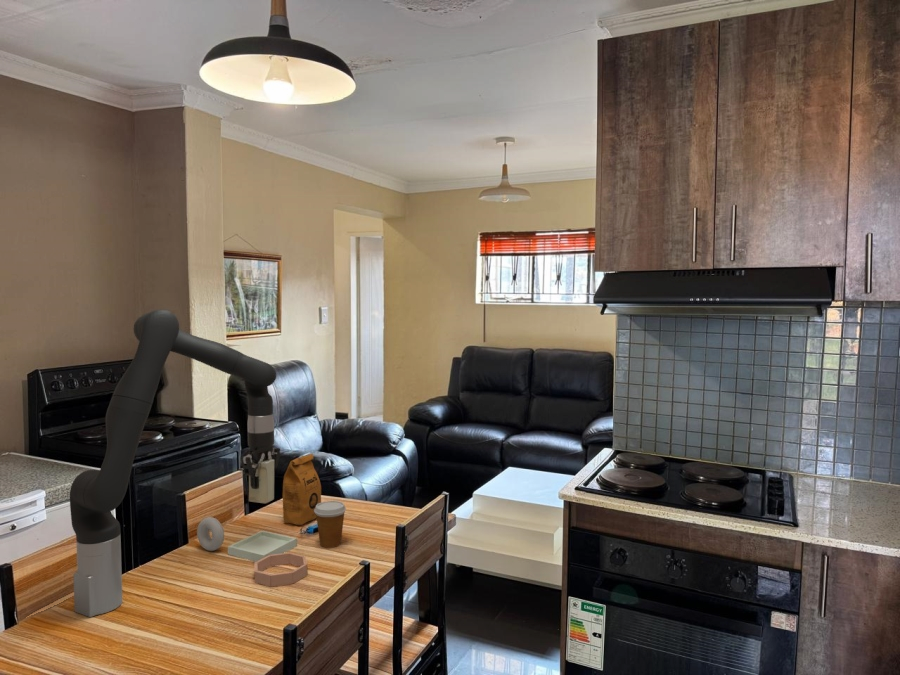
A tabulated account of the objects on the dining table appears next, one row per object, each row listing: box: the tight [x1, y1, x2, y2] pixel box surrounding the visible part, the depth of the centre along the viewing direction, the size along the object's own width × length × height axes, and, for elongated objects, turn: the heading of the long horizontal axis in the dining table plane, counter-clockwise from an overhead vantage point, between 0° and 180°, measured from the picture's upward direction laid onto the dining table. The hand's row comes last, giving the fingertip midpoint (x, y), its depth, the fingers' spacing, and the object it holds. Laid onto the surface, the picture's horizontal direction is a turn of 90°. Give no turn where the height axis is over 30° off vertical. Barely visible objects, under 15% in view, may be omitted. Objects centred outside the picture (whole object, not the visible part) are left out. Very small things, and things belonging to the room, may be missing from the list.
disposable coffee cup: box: [314, 500, 347, 549], centre depth 184 cm, size 10×10×12 cm
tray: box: [227, 530, 298, 563], centre depth 179 cm, size 14×14×2 cm
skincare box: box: [248, 460, 275, 504], centre depth 178 cm, size 6×4×12 cm
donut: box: [196, 516, 225, 552], centre depth 179 cm, size 10×3×10 cm, turn 61°
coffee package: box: [282, 453, 322, 525], centre depth 204 cm, size 10×12×22 cm
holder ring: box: [253, 551, 308, 588], centre depth 163 cm, size 14×14×3 cm
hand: (261, 485), depth 178 cm, fingers closed on skincare box, 4 cm apart
